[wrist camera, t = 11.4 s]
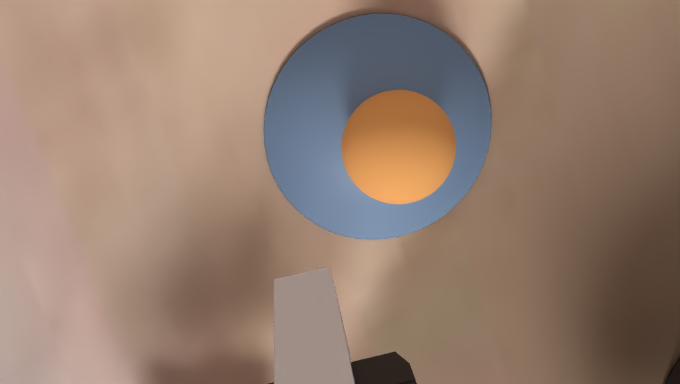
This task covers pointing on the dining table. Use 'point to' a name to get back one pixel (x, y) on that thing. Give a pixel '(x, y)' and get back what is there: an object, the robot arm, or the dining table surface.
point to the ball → (398, 147)
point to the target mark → (346, 96)
